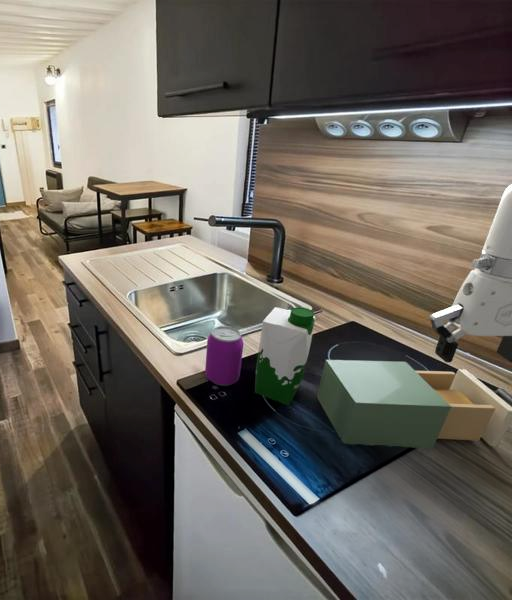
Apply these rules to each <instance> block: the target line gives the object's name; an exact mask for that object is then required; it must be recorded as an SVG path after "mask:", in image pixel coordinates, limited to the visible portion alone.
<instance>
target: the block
mask: <svg viewBox="0 0 512 600" xmlns="http://www.w3.org/2000/svg"><path fill="white" fill-rule="evenodd" d="M434 390H435V391H436V392H437V393H438V394H439V395H440V396H441V397H442V398H443V399H444V400H445V401H446V402H447V403H448V404H473V403H472V402H471V401H470V400H469V399H468V398H466V397H465V396H464V395H463V394H462V393H461V392H460V391H459V390H440V389H434ZM473 405H474V404H473Z"/></svg>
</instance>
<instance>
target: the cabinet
mask: <svg viewBox="0 0 512 600" xmlns="http://www.w3.org/2000/svg"><path fill="white" fill-rule="evenodd" d="M416 371H417V370H415V369H414V368H413V367H412V366H411V365H410V364H409V363H408V362H407V361H394V360H393V361H392V360H391V361H390V360H389V361H388V360H386V361H385V360H355V359H354V360H351V359H350V360H349V359H347V360H346V359H325V362H324V366H323V370H322V375H321V378H320V383H319V387H318V391H317V395H316V398H317V400H318V402H319V404H320V405H321V407H322V409H323V411H324V412H325V414H326V416H327V417H328V420H329V421H330V423H331V425H332V427H333V428H334V430H335V432H336V434H337V436H338V438H339V439H340V438H341V439H340V441H341V443H342V442H343V443H345V444H344V445H356V444H364V445H363V446H374V445H388V446H387V447H392V446H403V447H402V448H410V447H411V449H413V448H414V449H430V450H431V449H433V448H434V446H435V444H436V442H437V440H438V435H439V433H440V431H441V429H442V426H443V424H444V422H445V420H446V418H447V415H448V413H449V411H450V409H451V406H450V405H449V404H448V403H447V402H446V401H445V400H444V399H443V398H442V397H441V396H440V395H439V394H438V393H437V392H436V391H435V390H434V389H433V388H432V387H431V386H430V385H429V384H428V383H427V382H426V381H425V380H424V379H423V378H422V377H421V376H420V375H419V374H418V373H417V372H416ZM343 443H342V444H343ZM346 443H347V444H346ZM389 445H391V446H389Z"/></svg>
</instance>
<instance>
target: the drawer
mask: <svg viewBox="0 0 512 600" xmlns="http://www.w3.org/2000/svg"><path fill="white" fill-rule="evenodd" d="M415 371H416V372H417V373H418V374H419V375H420V376H421V377H422V378H423V379H424V380H425V381H426V382H427V383H428V384H429V385H430V386H431V387H432V388H433V389H440V390H459V391H460V392H461V393H462V394H463V395H464V396H465V397H466V398H468V399H469V400H470V401H471V402H472V403H473V404H474V405H473V404H449V405H450V406H451V409H450V411H449V413H448V415H447V418H446V420H445V422H444V424H443V426H442V429H441V431H440V433H439V435H438V438H437V440H438V439H439V440H441V439H442V440H459V441H460V440H461V441H477V442H479V441H480V439H481V438H482V440H483V441H484V442H486V443H487V444H488V445H489V446H491V447H493V446H494V447H499V445H500V443H501V441H502V439H503V437H504V435H505V434H506V432H507V430H508V429H509V427H510V425H511V423H512V395H511V394H510V393H509V392H507V391H506V390H505V389H503V388H497V389H496V390H492V389H490V387H488V386H487V385H485V384H484V383H483V382H482V381H480V379H478V378H477V377H476V376H474V375H473V374H472V373H471V372H469V371H468V370H467V369H466V368H458V369H457V371H456V373H455V372H454V371H442V370H440V371H439V370H415Z"/></svg>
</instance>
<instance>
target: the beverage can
mask: <svg viewBox="0 0 512 600" xmlns="http://www.w3.org/2000/svg"><path fill="white" fill-rule="evenodd" d="M243 352H244V340H243V337H242V334H241V331H240V330H239V329H237V328H236V327H233V326H227V325H219V326H216V327H214V328H212V329H211V331H210V334H209V336H208V338H207V342H206V353H205V354H206V355H205V356H206V357H205V367H204V368H205V369H204V371H205V377H206V378H207V379H208V380H209V381H210V382H211V383H213V384H215V385H218V386H223V387H226V386H231V385H234V384H236V383H237V382H238V381H239V379H240V375H241V368H242V359H243Z"/></svg>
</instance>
